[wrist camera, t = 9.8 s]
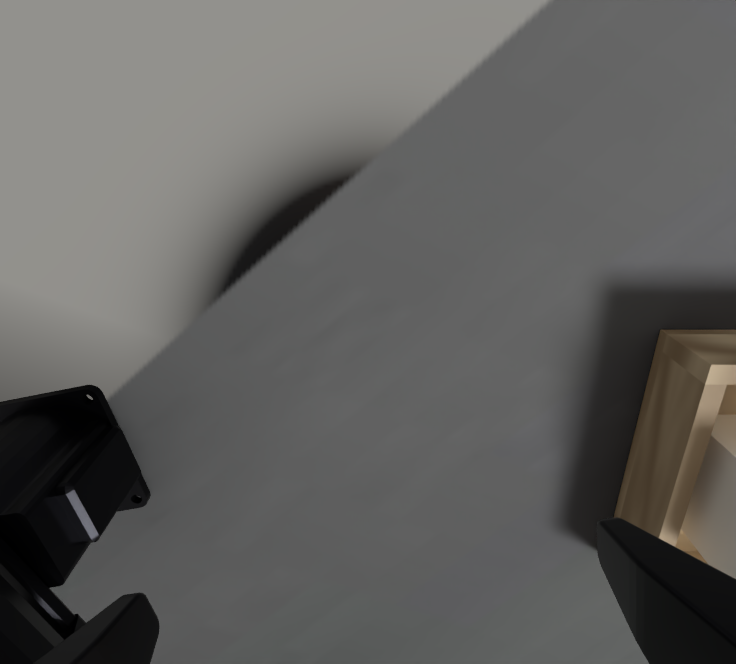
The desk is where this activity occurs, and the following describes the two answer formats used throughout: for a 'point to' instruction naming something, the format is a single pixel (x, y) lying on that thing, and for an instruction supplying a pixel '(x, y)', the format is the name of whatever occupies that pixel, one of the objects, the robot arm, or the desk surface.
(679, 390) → the tray
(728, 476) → the stand
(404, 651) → the desk surface
